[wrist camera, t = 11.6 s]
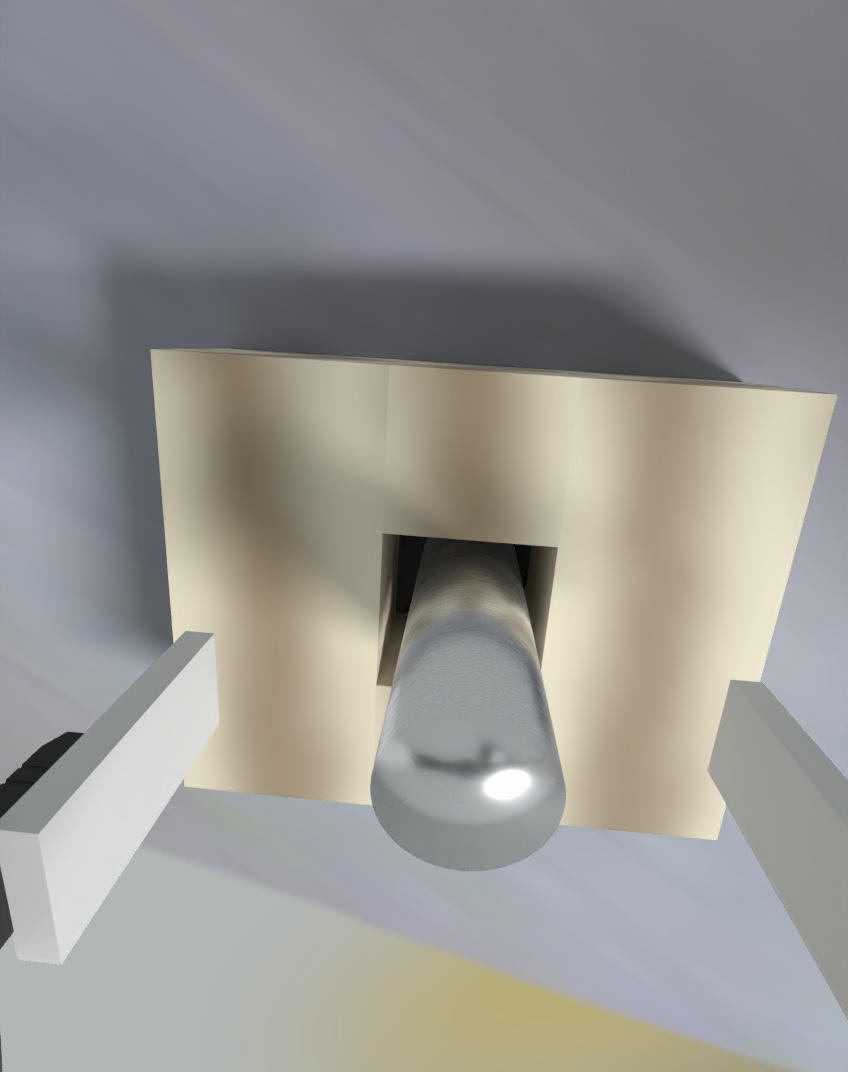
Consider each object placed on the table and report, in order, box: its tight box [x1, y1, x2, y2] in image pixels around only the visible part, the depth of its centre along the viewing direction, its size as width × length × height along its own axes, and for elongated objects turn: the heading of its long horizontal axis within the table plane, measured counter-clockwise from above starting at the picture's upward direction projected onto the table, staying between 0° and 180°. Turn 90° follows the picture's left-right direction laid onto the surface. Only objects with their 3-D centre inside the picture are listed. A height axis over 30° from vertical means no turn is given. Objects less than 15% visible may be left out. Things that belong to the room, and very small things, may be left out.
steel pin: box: [370, 537, 566, 871], centre depth 19 cm, size 4×4×14 cm
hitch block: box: [150, 348, 838, 840], centre depth 23 cm, size 20×16×6 cm
